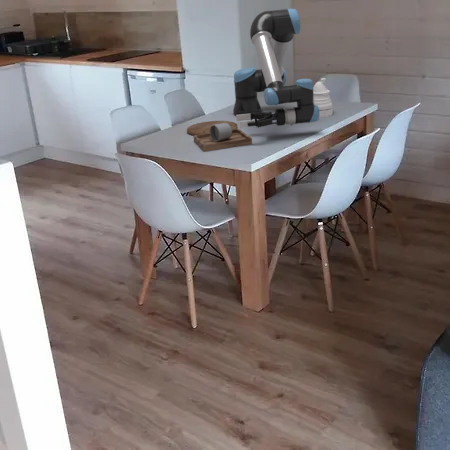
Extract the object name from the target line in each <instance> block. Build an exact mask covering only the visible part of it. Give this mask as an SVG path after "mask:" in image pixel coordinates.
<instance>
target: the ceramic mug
mask: <svg viewBox="0 0 450 450" xmlns="http://www.w3.org/2000/svg"><path fill="white" fill-rule="evenodd" d="M231 136H232V128H231V126H230V125H229V124H228V123H222V124H215V125H212V126H211V127H210V137H211V138H212V140H213V141H215V142H217V141H221V140H225V139H228V138H230V137H231Z"/></svg>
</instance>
